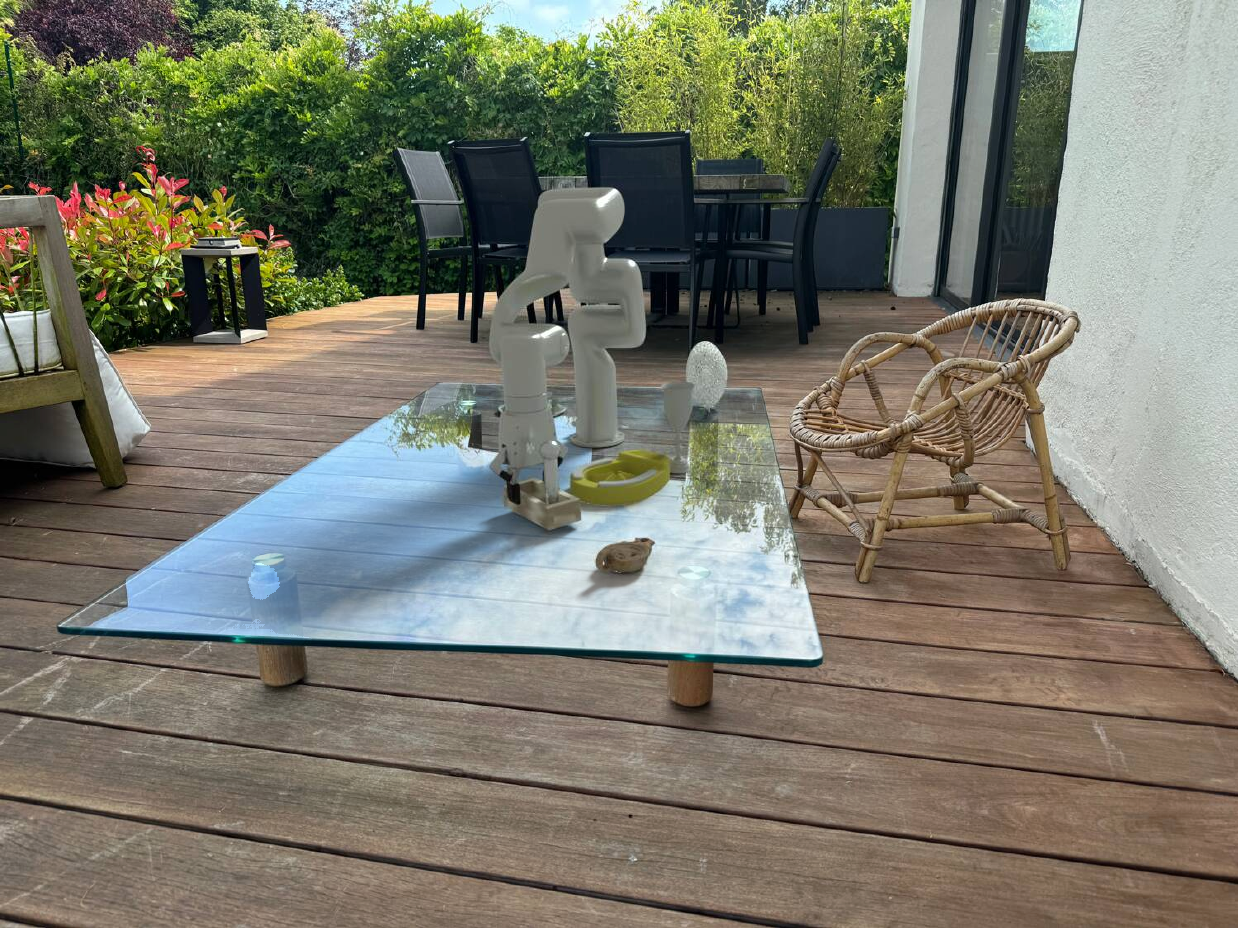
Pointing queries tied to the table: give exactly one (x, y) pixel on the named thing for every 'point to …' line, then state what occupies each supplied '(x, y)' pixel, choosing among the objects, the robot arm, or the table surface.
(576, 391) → the robot arm
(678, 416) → the chalice
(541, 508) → the link
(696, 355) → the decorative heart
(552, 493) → the silver metal pin
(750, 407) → the table surface
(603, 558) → the oil lamp
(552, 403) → the salad plate
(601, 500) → the yellow-green spoked oval frame
